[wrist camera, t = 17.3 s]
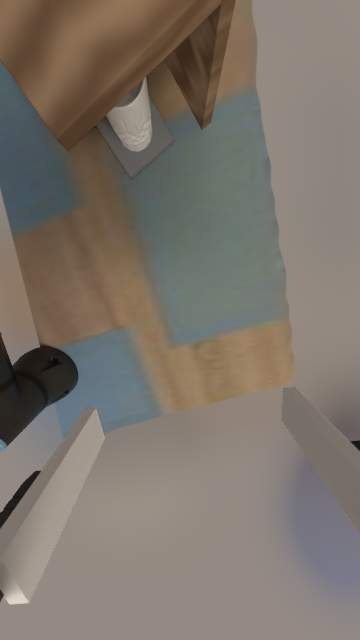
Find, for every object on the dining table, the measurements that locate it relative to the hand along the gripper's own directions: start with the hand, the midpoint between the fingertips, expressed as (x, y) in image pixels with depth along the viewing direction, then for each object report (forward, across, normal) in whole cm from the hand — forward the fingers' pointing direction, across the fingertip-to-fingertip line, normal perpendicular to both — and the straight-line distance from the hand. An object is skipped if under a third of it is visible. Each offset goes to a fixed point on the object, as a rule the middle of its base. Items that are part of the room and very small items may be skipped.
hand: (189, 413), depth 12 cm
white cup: (+31, -5, +37) cm, 49 cm away
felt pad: (+32, -5, +37) cm, 49 cm away
